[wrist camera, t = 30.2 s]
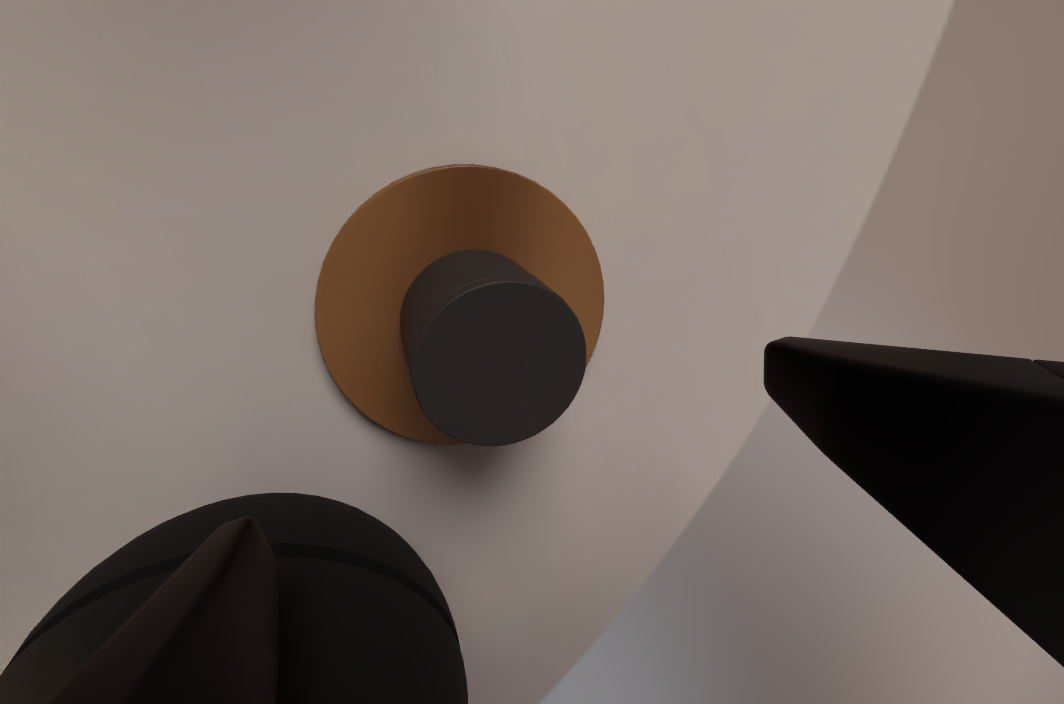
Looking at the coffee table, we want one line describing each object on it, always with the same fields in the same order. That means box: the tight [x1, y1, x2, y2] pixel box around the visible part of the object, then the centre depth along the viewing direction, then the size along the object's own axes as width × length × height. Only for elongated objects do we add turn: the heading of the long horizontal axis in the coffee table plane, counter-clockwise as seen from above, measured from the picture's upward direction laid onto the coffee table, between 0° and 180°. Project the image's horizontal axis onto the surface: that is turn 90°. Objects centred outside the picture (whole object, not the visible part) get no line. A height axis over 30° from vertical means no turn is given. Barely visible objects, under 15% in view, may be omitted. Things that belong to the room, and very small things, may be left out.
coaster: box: [315, 164, 604, 445], centre depth 15 cm, size 8×8×1 cm
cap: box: [400, 250, 587, 446], centre depth 13 cm, size 4×4×3 cm
